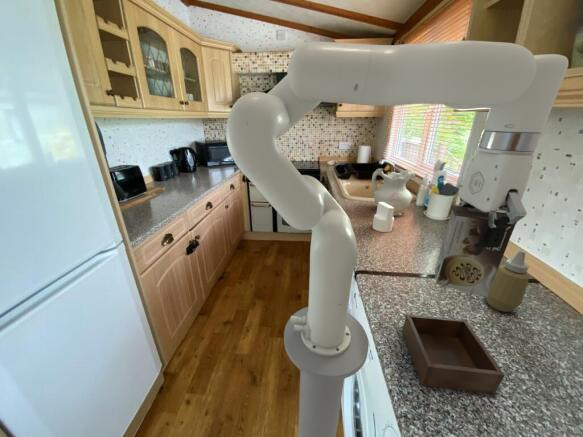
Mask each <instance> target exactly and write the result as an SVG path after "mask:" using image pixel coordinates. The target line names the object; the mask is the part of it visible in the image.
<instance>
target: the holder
mask: <svg viewBox="0 0 583 437" xmlns="http://www.w3.org/2000/svg"><path fill="white" fill-rule="evenodd" d="M404 318H405V319H404V322H403V327H402V329H401V330H402V331H401V332H402V335H403V337H404V340H405V342H406V345H407V348H408V351H409V353H410V357H411V359H412V361H413V364H414V367H415V369H416V372H417V375H418V378H419V380H420V384H421V386H423V387H431V388H441V389H449V390H457V391H464V392H473V393H481V394H490V395H495V394H496V393H497V391H498V389H499V387H500V386H501V383H502V382H503V379H504V378H505V374H504V372H503V371H502V369H501V368H500V366H499V365H498V363H497V362H496V361H495V358H494V357H493V356H492V355H491V354H490V352H489V351H488V349H487V348H486V346H485V345H484V344H483V342H482V340H480V338H479V337H478V335H477V334H476V332H475V331H474V329H473V328H472V327H471V325H470V324H469V323H468V321H467V320H466V319H462V318H450V317H441V316H430V315H420V314H405V317H404Z"/></svg>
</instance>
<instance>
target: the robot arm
mask: <svg viewBox="0 0 583 437" xmlns="http://www.w3.org/2000/svg"><path fill="white" fill-rule="evenodd" d="M568 68H569V59H568V57H567V56H565V55H562V54H558V53H557V54H556V53H546V54H545V53H544V54H535V55H534V54H533V53H532V52H531V50H530V49H528V48H526V47H525V46H522V45H520V44H517V43H513V42H502V41H487V40H486V41H485V40H443V41H432V42H422V43H421V42H420V43H403V44H394V45H392V44H369V43H368V44H367V43H351V42H333V41H308V42H303V43H302V44H300V45H299V46H297V47H296V48H295V49H294V51H292V54H291V55H290V57H289V60H288V64H287V71H286V72H287V74H286V75H285V76H284V77H283V78H282V79H281V80H280V81H278V83H277V84H276V85H274V87H272V88H271V89H270V90H269V91H268V92H267V93H266V92H262V91H251V92H249V93H245V94H244V95H242V96H241V97H239V98H238V99H236V101H235V102H234V104H233V106H232V107H231V108H230V111H229V113H228V117H227V122H226V127H225V128H226V129H225V134H226V135H225V137H226V145H227V148H228V151H229V154H230V156H231V158H232V160H233V162H234V164H235V165H236V166H237V167H238V169H239V170H240V171H241V172H242V174H244V176H245V177H246V178H247V179H248V180H249V181H250V182H251V183H252V185H254V187H255V188H256V189H257V190H258V191H259V192H260V194H261V195H262V196H263V198H264V199H265V200H266V201H267V202H268V203H269V204H270V206H272V207H273V209H274V210H275V211H276V212H277V213H278V214H279V216H280V217H281V218H282V219H283V220H284V221H285V222H286V223H287V224H288V225H289V226H290V227H292V228H293V229H296V230H298V231H308V230H310V231H311V239H310V249H309V250H310V251H309V278H308V279H309V282H308V286H309V287H308V302H307V304H308V306H307V307H308V312H307V316H303V317H298V316H293V315H290V318H291V319H290V318H289V319H290V324H302V326H299V325H294V331H301V337H302V340H303V343H304V344H305V346H306V347H307V348H308V349H309V350H310V351H312V352H313V353H315V354H317V355H320V356H325V357H334V356H338V355H340V354H342V353H343V352H345V351H346V350H347V348H348V347H349V344H350V340H351V335H350V331H349V328H348V327H347V325H346V320H347V313H349V305H350V298H351V297H350V296H351V288H352V282H353V275H354V270H355V267H356V264H357V263H356V262H357V258H358V245H357V240H356V235H355V231H354V230H353V225H352V222H351V219H350V217H349V215H348V214H347V213H346V211H345V210H344V209H343V208H342V206H340V204H339V203H338V202H337V200H336V199H335V198H334V197H333V196H332V194H331V193H330V191H329V190H328V189H326V187H325V186H324V184H323V183H321V182H320V181H319V180H318V179H317V178H316V177H314V176H311V175H307V174H301V172H299V170H298V169H297V168H296V166H295V165H294V163H292V161H291V160H290V159H289V157H287V156H286V155H285V154H284V153H283V152H282V151H281V150H280V148H279V147H278V144H277V139H279V138H280V137H282V136H283V135H285V134H286V133H287V132H289V131H290V130H291V129H292V128H293V127H294V126H296V125H297V124H298V123H299V122H300V121H301V120H303V119H304V118H305V117H306V116H307V115H309V114H310V113H311V112H312V111H313V110H314V109H315V108H317V107H318V105H319V106H320V104H321V103H333V104H347V105H348V104H349V105H359V106H371V107H396V106H404V105H419V104H420V105H443V106H445V107H447V108H449V109H451V110H455V111H472V110H473V111H474V110H488V113H487V117H486V120H485V123H484V127H483V130H482V133H481V136H480V139H479V143H478V145H477V148H476V149H475V151H474V153H473V155H472V156H471V158H470V161H469V163H468V165H467V167H466V171H465V172H464V176H463V178H462V181H461V184H460V186H459V190H458V198H459V200H460V202H459V203H458V206H462V207H470V208H477V209H479V210H481V211H483V212H488V221H489V226H487V225H485V227H484V230H483V233H482V236H481V238H480V241H479V245H480V246H481V247H493V248H498V247H499V246H500V243H501V241H502V238H503V236H504V233H505V231H506V229H509V228H510V227H511V226H512V225H514V224H516V225H517V223H518V222H520V221H521V220H522V219H524V218H525V217H526V216H527V210H526V208H525V206H524V205H523V202H522V200H523V197H524V194H525V192H526V188H527V185H528V183H529V180H530V175H531V171H532V166H533V161H534V157H535V156H534V154H535V151H536V149H537V146H538V144H539V142H540V139H541V136H542V134H543V132H544V129H545V126H546V124H547V121H548V119H549V116H550V113H551V112H552V109H553V107H554V104H555V101H556V98H557V97H558V94H559V92H560V88H561V86H562V84H563V81H564V79H565V76H566V74H567V71H568ZM496 214H502V218H500V219H498V220H497V216H496Z"/></svg>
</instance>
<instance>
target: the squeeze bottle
mask: <svg viewBox="0 0 583 437" xmlns="http://www.w3.org/2000/svg"><path fill="white" fill-rule="evenodd" d="M525 259H526V251H525V250H522V249H519V251H517V253H516V254H515V255H514V256H513V258H507V259H506V260H505V262H504V264H500V265H499V268H498V270H497V273H496V275H495V278H494V281H493V283H492V286H491V288H490V291H489V293H488V296H487V297H485V298H486V300H485V301H486V303H487V304H488V305H489V306H490V307H492V308H493V309H495V310H497V311H500V312H504V313H510V312H512V311H514V310H515V309H516V308H518V307H519V306H521V305H522V303H523V300H524V297H525V293H526V291H527V287H528V284H529V281H530V274H529V273H528V270H529V264H528V263H525V261H526V260H525Z"/></svg>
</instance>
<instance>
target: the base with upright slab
mask: <svg viewBox="0 0 583 437" xmlns="http://www.w3.org/2000/svg"><path fill="white" fill-rule="evenodd" d="M376 206H377V205H376ZM393 212H394V207H392V206H390V205H388V204H387V203H385V202H378V206H377V207H376V213H375V214H374V215H373V221H372V229H373V230H375V231H377V232H380V233H391V232H392V231H393V226H394V220H395V217H394V215H393Z"/></svg>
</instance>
